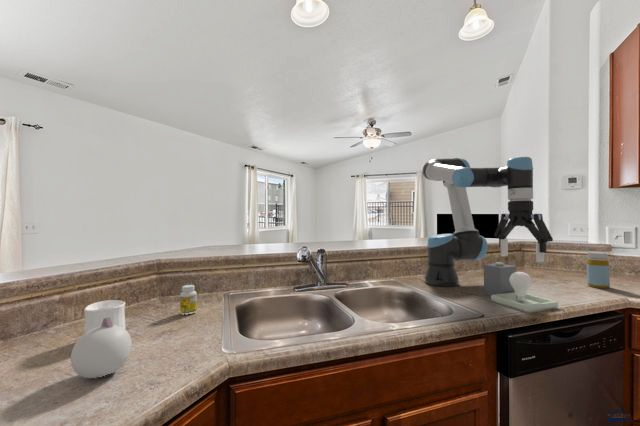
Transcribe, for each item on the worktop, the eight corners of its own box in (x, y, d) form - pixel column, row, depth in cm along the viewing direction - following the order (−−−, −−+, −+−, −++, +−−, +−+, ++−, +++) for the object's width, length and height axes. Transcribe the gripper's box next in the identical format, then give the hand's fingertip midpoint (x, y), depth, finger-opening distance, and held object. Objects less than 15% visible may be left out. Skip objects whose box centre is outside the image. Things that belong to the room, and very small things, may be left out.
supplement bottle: (200, 312, 101) (200, 285, 101) (186, 316, 96) (186, 288, 96) (190, 309, 103) (190, 283, 104) (177, 314, 99) (176, 286, 99)
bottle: (613, 287, 122) (612, 252, 122) (604, 289, 120) (603, 253, 120) (592, 284, 129) (591, 251, 129) (583, 285, 126) (582, 252, 126)
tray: (491, 300, 107) (490, 295, 107) (519, 297, 111) (519, 291, 111) (527, 312, 93) (526, 306, 93) (558, 308, 97) (558, 301, 97)
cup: (93, 350, 73) (93, 312, 73) (75, 342, 78) (75, 307, 78) (132, 336, 81) (132, 302, 81) (114, 330, 86) (114, 297, 86)
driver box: (483, 293, 118) (482, 261, 118) (498, 291, 120) (497, 260, 120) (501, 298, 110) (500, 265, 110) (517, 296, 112) (516, 263, 112)
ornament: (140, 360, 67) (139, 309, 67) (115, 385, 57) (115, 325, 57) (92, 364, 65) (91, 312, 66) (58, 391, 55) (57, 330, 55)
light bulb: (536, 305, 99) (535, 273, 99) (514, 304, 100) (514, 273, 100) (526, 299, 105) (525, 270, 106) (506, 299, 107) (506, 269, 107)
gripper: (483, 201, 114) (484, 254, 114) (548, 198, 89) (549, 265, 90) (498, 201, 116) (499, 253, 116) (565, 198, 92) (566, 264, 92)
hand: (521, 258), depth 103 cm, fingers open, 13 cm apart
